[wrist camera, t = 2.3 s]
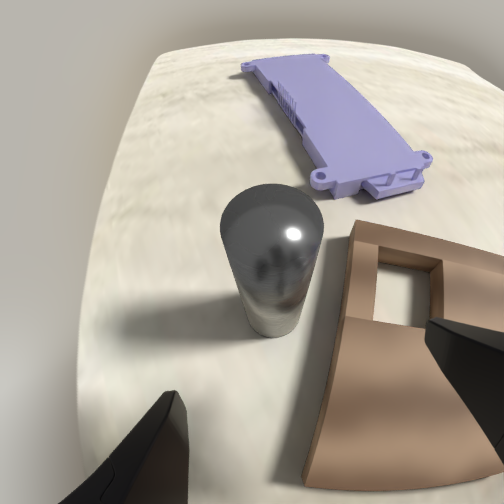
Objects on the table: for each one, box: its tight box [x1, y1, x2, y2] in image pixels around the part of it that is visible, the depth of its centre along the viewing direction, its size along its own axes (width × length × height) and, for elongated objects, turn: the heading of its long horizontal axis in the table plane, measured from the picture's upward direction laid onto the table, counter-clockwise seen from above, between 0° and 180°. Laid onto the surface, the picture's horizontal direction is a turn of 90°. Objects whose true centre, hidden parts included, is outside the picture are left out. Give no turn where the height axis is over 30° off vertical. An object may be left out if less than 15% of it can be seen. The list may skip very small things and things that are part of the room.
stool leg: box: [220, 184, 324, 338], centre depth 16 cm, size 4×4×12 cm
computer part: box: [241, 54, 433, 199], centre depth 31 cm, size 30×4×15 cm
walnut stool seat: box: [301, 220, 504, 491], centre depth 17 cm, size 20×20×2 cm
